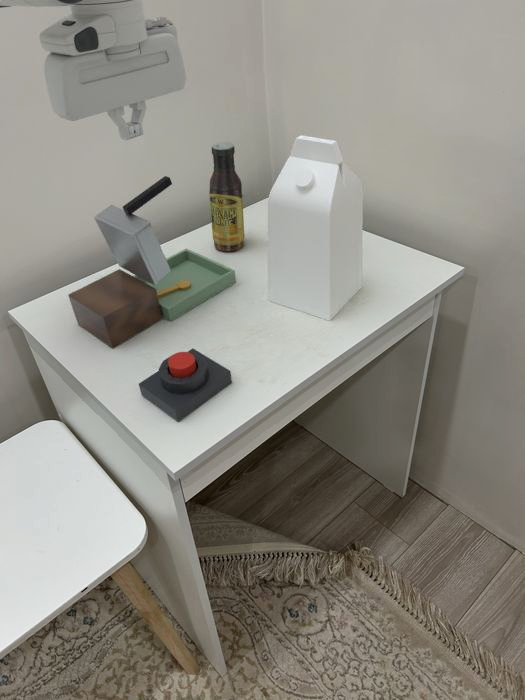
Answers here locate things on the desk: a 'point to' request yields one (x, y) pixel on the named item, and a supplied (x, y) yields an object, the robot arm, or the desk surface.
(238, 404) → the desk surface
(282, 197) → the milk
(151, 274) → the grey dustpan
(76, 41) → the robot arm
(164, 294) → the tan wooden spoon shape
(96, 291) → the stand
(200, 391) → the grey button base
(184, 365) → the bell button
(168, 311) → the tray
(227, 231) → the sauce bottle
